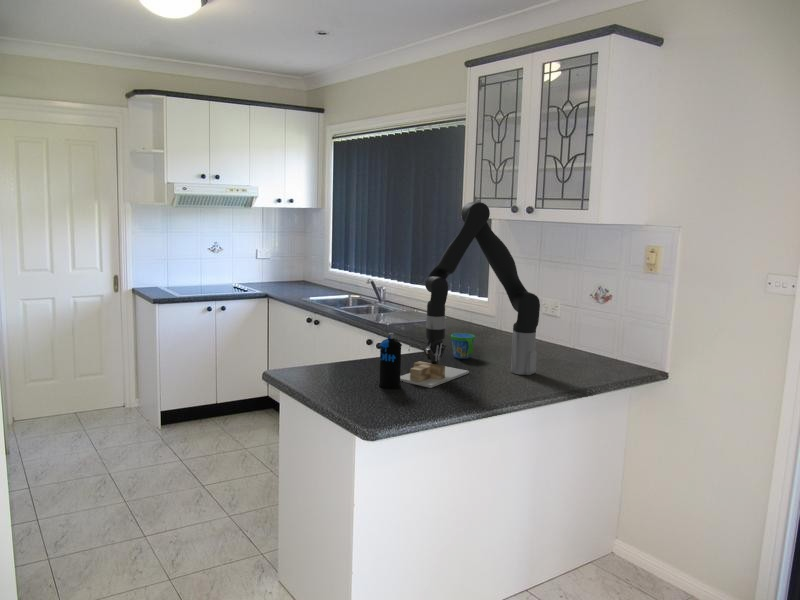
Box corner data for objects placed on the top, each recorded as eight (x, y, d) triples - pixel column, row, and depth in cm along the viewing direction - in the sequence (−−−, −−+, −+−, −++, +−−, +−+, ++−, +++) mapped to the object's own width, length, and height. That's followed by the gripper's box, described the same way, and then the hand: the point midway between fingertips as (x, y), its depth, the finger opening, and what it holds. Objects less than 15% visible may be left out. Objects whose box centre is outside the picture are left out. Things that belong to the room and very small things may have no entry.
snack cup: (480, 361, 289) (481, 338, 287) (457, 362, 285) (458, 339, 284) (466, 353, 303) (467, 331, 302) (444, 354, 300) (445, 332, 299)
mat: (468, 373, 267) (468, 370, 267) (430, 387, 245) (430, 385, 245) (435, 366, 277) (435, 364, 276) (395, 380, 254) (395, 377, 254)
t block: (419, 372, 263) (419, 361, 262) (444, 377, 256) (445, 366, 255) (401, 378, 253) (401, 366, 253) (427, 383, 246) (428, 372, 246)
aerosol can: (388, 381, 252) (389, 330, 249) (405, 385, 246) (406, 333, 244) (374, 385, 245) (375, 333, 242) (391, 390, 240) (392, 336, 237)
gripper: (434, 330, 251) (433, 374, 254) (452, 325, 262) (451, 367, 264) (418, 328, 255) (417, 371, 258) (436, 322, 266) (435, 364, 269)
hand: (434, 369), depth 261 cm, fingers closed
